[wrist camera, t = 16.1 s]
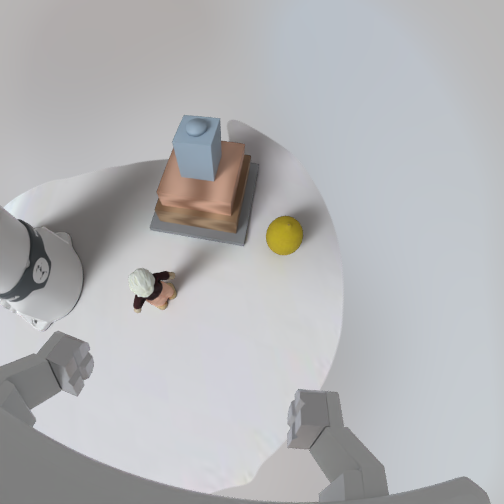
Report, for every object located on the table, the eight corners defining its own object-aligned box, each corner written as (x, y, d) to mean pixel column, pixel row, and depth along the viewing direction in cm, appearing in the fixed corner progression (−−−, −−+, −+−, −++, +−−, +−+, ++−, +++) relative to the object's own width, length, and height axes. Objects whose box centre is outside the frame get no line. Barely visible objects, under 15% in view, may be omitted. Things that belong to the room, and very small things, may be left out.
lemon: (296, 231, 49) (307, 209, 41) (297, 262, 47) (308, 244, 40) (264, 228, 49) (269, 205, 41) (263, 260, 47) (268, 242, 39)
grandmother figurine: (166, 272, 45) (143, 243, 33) (185, 285, 45) (168, 259, 33) (140, 312, 43) (107, 296, 31) (159, 325, 42) (131, 314, 30)
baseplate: (151, 230, 48) (149, 227, 47) (176, 156, 53) (176, 152, 52) (243, 246, 47) (243, 243, 47) (258, 167, 53) (259, 164, 52)
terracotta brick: (160, 221, 47) (148, 197, 40) (181, 159, 52) (174, 131, 44) (236, 233, 47) (236, 210, 40) (249, 169, 52) (252, 140, 44)
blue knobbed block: (181, 177, 41) (171, 137, 33) (190, 151, 43) (183, 110, 34) (214, 181, 41) (210, 141, 33) (221, 155, 43) (219, 114, 34)
